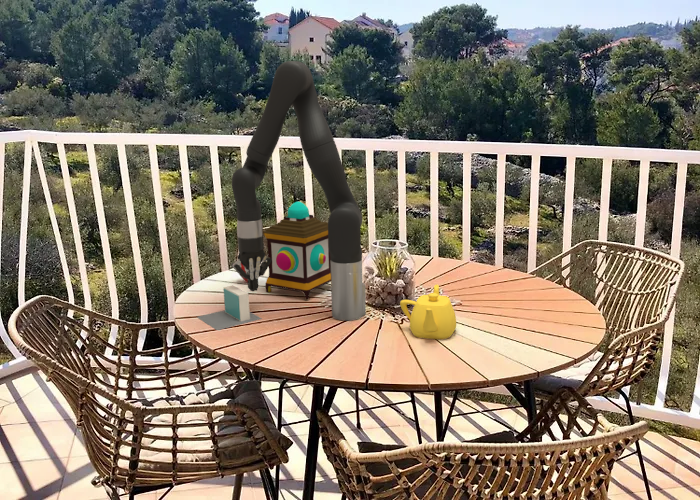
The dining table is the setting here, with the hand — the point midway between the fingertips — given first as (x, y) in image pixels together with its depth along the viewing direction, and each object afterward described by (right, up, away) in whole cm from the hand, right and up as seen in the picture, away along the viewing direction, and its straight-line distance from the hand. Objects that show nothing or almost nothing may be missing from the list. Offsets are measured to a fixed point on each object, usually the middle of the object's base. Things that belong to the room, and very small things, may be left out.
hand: (253, 290), depth 199 cm
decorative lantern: (+13, -1, +23) cm, 26 cm away
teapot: (+51, -10, -15) cm, 54 cm away
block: (-5, -7, -2) cm, 9 cm away
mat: (-7, -8, -3) cm, 11 cm away
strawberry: (-7, +1, +32) cm, 33 cm away
